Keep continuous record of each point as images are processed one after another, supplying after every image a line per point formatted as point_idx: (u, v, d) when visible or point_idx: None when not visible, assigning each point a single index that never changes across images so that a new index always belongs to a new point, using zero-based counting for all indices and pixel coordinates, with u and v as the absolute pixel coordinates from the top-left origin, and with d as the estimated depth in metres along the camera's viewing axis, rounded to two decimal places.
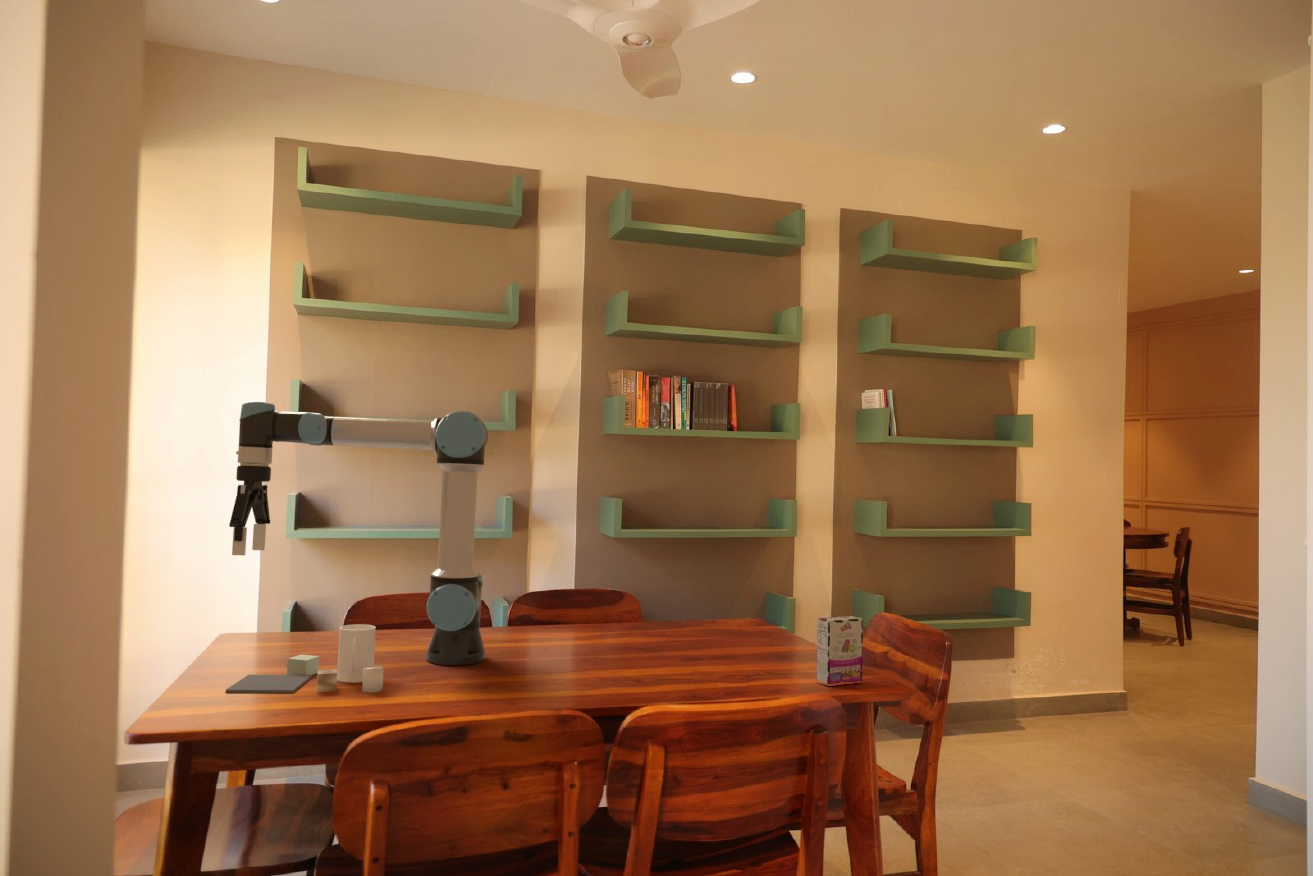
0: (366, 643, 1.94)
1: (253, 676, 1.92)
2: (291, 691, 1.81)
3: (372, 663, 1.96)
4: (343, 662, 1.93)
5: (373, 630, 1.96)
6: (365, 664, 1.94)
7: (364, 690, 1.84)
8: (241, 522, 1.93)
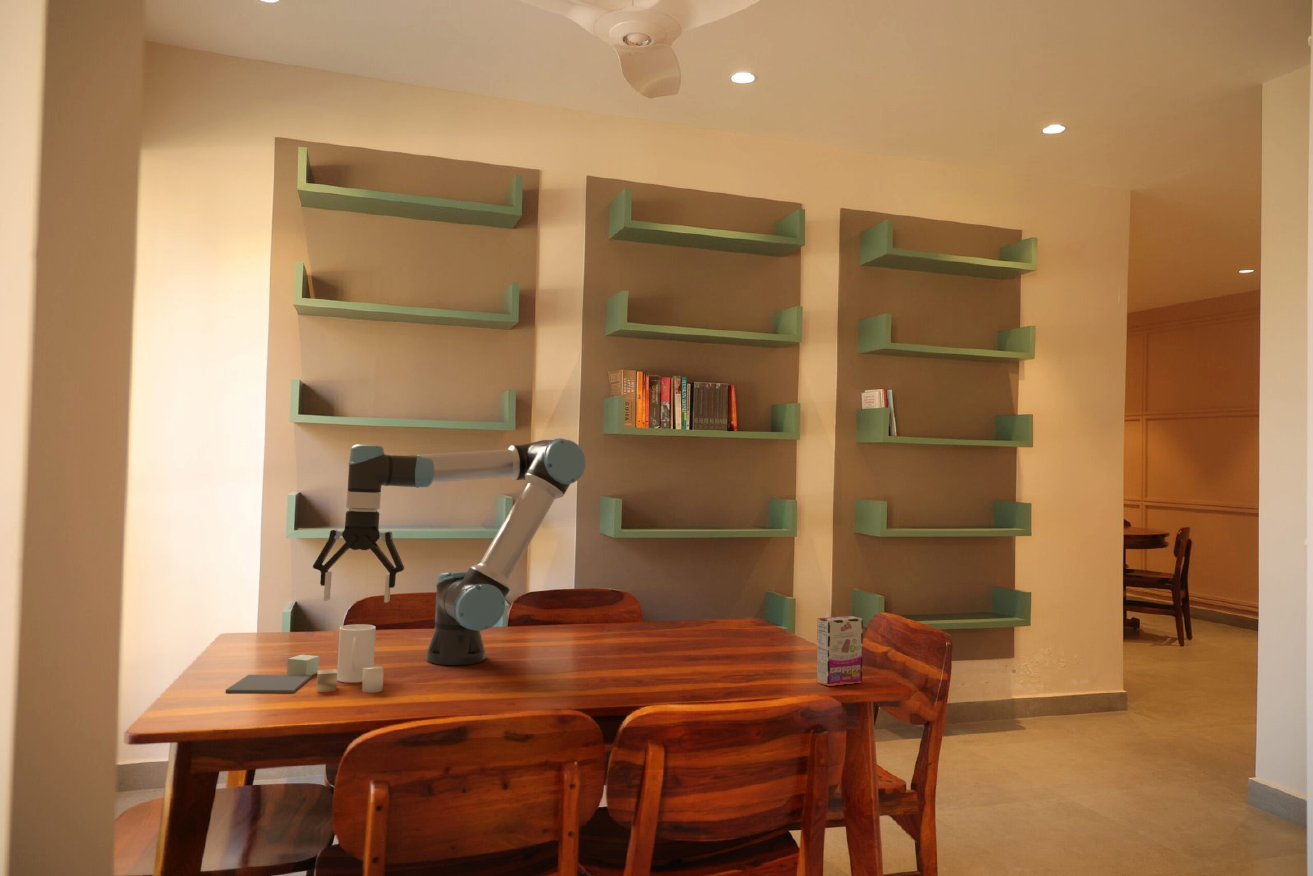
0: (366, 643, 1.94)
1: (253, 676, 1.92)
2: (291, 691, 1.81)
3: (372, 663, 1.96)
4: (343, 662, 1.93)
5: (373, 630, 1.96)
6: (365, 664, 1.94)
7: (364, 690, 1.84)
8: (313, 566, 1.93)
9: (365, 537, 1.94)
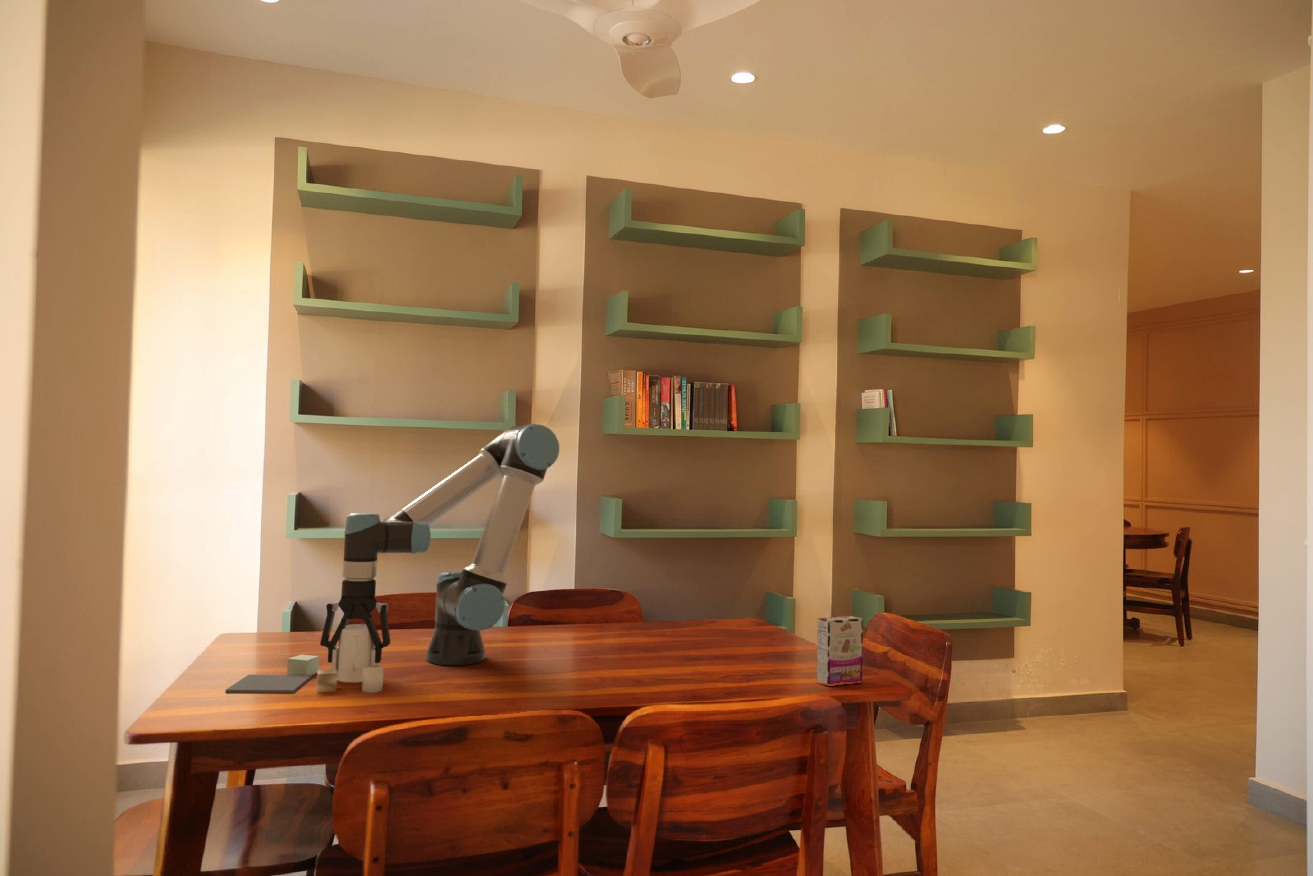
0: (366, 643, 1.94)
1: (253, 676, 1.92)
2: (291, 691, 1.81)
3: None
4: (343, 662, 1.93)
5: None
6: (365, 664, 1.94)
7: (364, 690, 1.84)
8: (321, 644, 1.93)
9: (362, 607, 1.94)
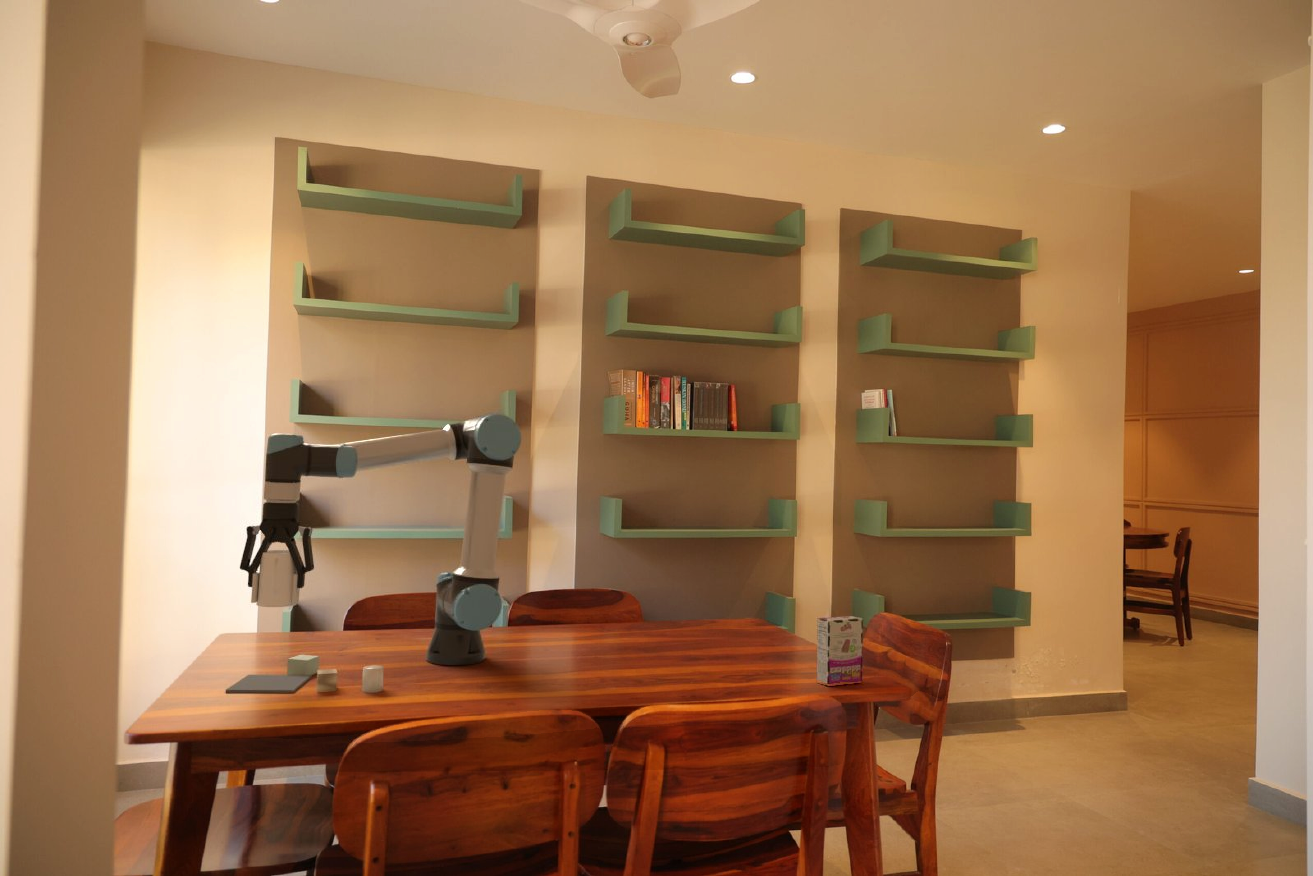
0: (288, 567, 1.88)
1: (253, 676, 1.92)
2: (291, 691, 1.81)
3: None
4: (263, 586, 1.86)
5: None
6: (286, 589, 1.87)
7: (364, 690, 1.84)
8: (240, 567, 1.86)
9: (283, 529, 1.87)
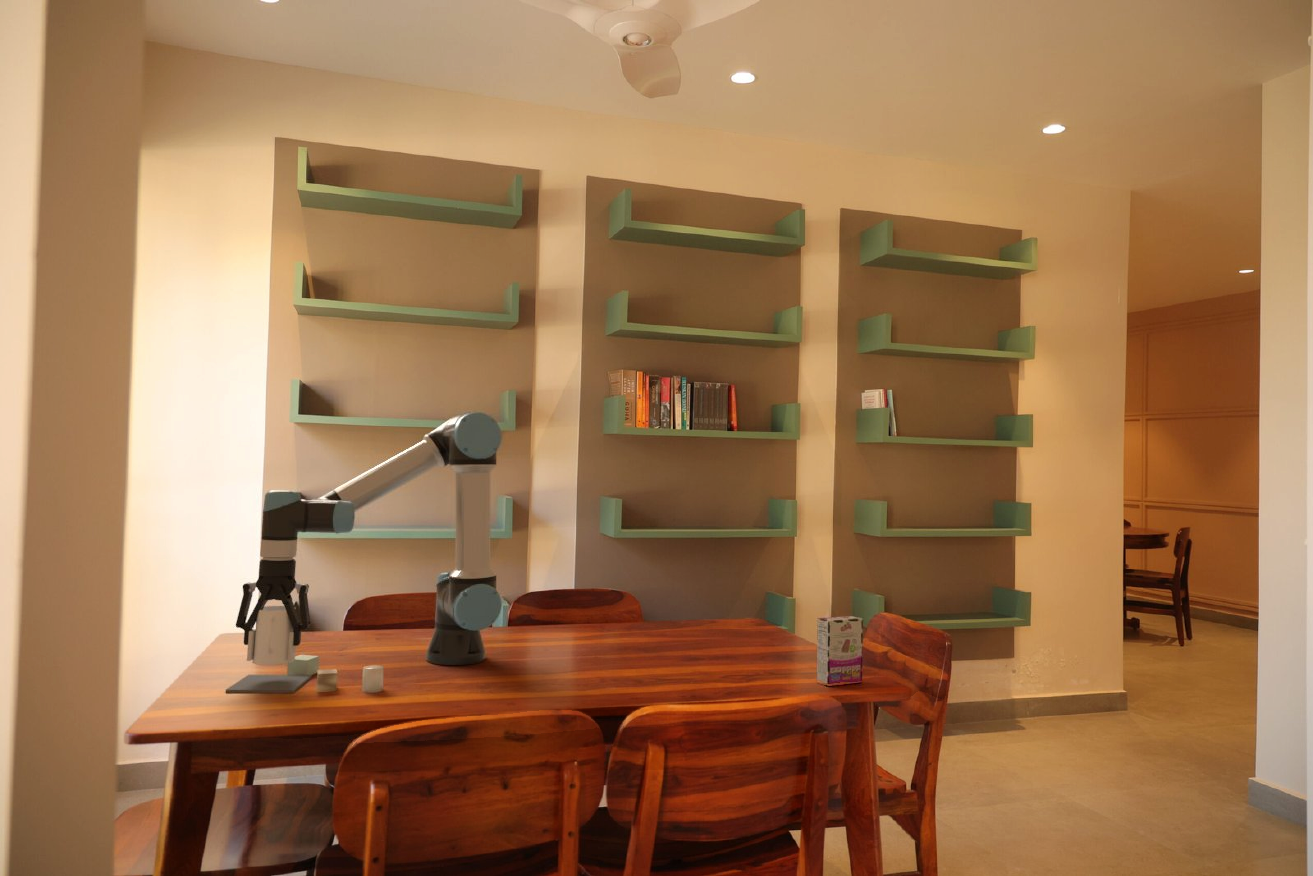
0: (284, 624, 1.87)
1: (253, 676, 1.92)
2: (291, 691, 1.81)
3: None
4: (259, 644, 1.86)
5: None
6: (283, 646, 1.87)
7: (364, 690, 1.84)
8: (236, 625, 1.86)
9: (280, 587, 1.87)
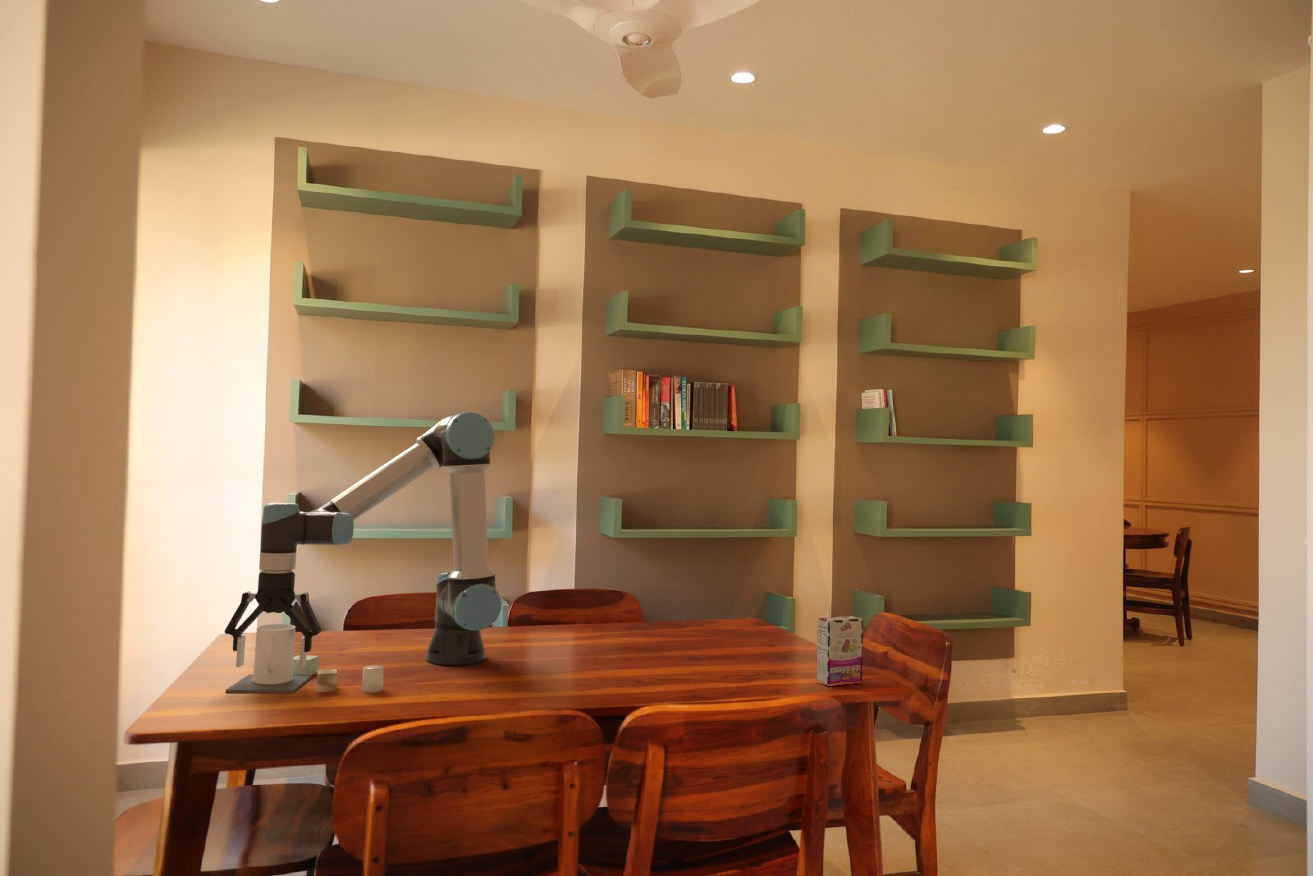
0: (284, 643, 1.87)
1: None
2: (291, 691, 1.81)
3: (291, 664, 1.89)
4: (259, 663, 1.85)
5: (292, 630, 1.89)
6: (282, 665, 1.87)
7: (364, 690, 1.84)
8: (225, 631, 1.85)
9: (279, 600, 1.86)
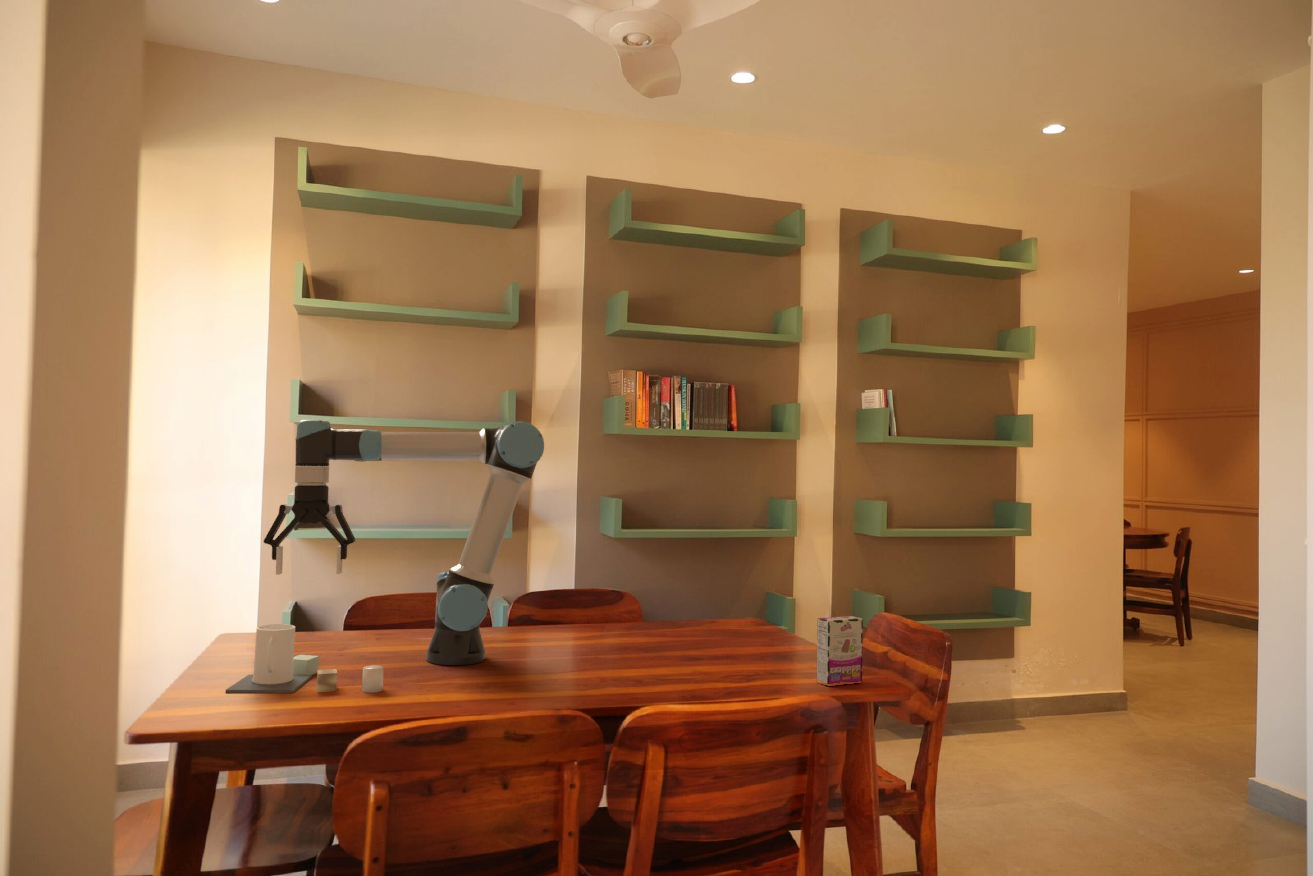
0: (283, 643, 1.87)
1: None
2: (291, 691, 1.81)
3: (291, 664, 1.89)
4: (259, 663, 1.85)
5: (292, 630, 1.89)
6: (282, 665, 1.87)
7: (364, 690, 1.84)
8: (264, 541, 1.96)
9: (315, 510, 1.97)
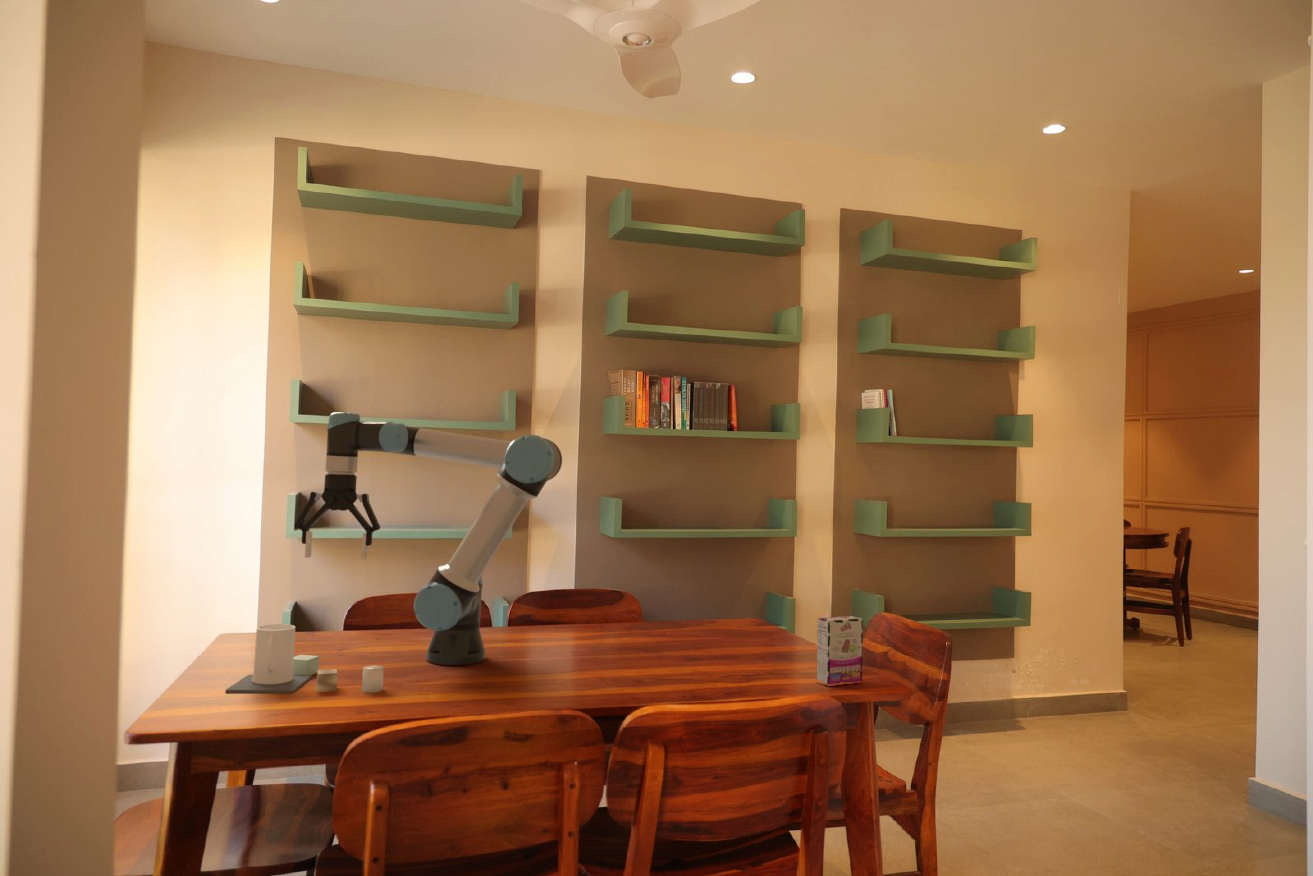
0: (283, 643, 1.87)
1: None
2: (291, 691, 1.81)
3: (291, 664, 1.89)
4: (259, 663, 1.85)
5: (292, 630, 1.89)
6: (282, 665, 1.87)
7: (364, 690, 1.84)
8: (295, 525, 2.07)
9: (343, 498, 2.09)
